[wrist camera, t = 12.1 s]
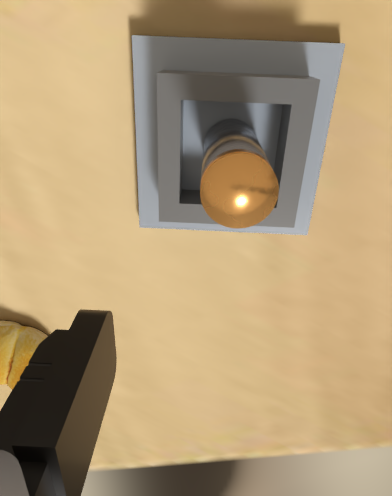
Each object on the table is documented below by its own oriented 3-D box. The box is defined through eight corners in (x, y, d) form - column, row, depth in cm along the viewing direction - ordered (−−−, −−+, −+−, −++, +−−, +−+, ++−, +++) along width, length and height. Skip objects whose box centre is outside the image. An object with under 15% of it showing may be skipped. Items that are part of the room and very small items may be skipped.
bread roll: (53, 386, 43) (39, 416, 39) (-26, 359, 41) (-48, 388, 38) (74, 337, 39) (60, 366, 36) (-12, 305, 37) (-35, 332, 34)
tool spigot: (260, 119, 27) (284, 155, 18) (254, 173, 29) (273, 230, 20) (204, 117, 27) (201, 152, 18) (202, 171, 29) (198, 226, 20)
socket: (340, 43, 25) (361, 43, 22) (304, 230, 32) (316, 252, 28) (134, 35, 26) (122, 33, 22) (141, 222, 32) (133, 244, 29)
